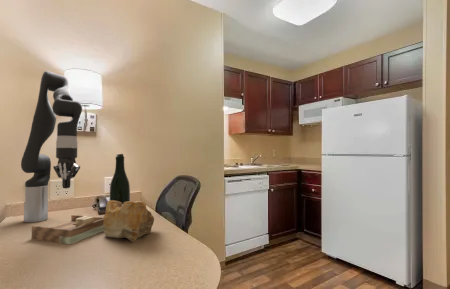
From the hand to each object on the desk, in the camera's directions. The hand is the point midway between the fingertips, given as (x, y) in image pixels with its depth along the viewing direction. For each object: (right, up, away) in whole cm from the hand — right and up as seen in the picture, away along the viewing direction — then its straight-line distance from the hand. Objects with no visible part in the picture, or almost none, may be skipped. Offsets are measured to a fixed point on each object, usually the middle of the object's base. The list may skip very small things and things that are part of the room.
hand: (66, 188), depth 101 cm
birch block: (+10, -16, -3) cm, 19 cm away
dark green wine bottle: (+10, -20, +29) cm, 36 cm away
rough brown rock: (+30, -19, -5) cm, 36 cm away
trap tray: (+3, -19, -2) cm, 19 cm away
